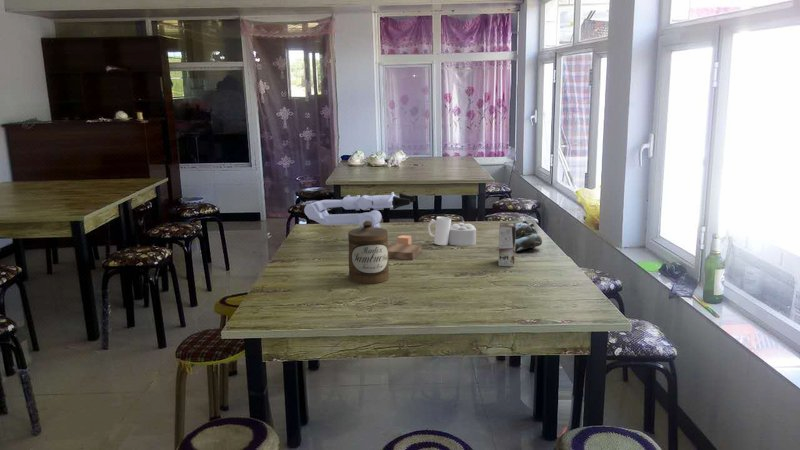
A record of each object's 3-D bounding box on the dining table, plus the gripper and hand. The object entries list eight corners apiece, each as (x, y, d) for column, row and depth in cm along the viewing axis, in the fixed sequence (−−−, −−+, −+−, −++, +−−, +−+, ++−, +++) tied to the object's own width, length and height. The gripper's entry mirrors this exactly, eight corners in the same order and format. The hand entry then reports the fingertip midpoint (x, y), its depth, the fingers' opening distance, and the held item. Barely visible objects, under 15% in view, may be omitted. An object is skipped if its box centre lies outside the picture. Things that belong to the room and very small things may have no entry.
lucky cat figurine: (509, 253, 276) (500, 222, 279) (510, 257, 287) (502, 228, 291) (543, 244, 273) (534, 213, 277) (543, 248, 285) (535, 219, 288)
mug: (448, 243, 295) (451, 217, 293) (448, 246, 289) (451, 220, 286) (426, 240, 296) (429, 214, 294) (425, 243, 290) (429, 217, 287)
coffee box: (514, 266, 255) (515, 227, 252) (498, 266, 256) (499, 226, 253) (515, 260, 264) (516, 222, 261) (499, 260, 265) (500, 221, 262)
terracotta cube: (397, 248, 286) (397, 237, 285) (401, 245, 291) (400, 235, 290) (408, 249, 285) (408, 238, 284) (411, 246, 289) (411, 235, 288)
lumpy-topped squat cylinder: (476, 245, 290) (477, 227, 288) (447, 245, 290) (448, 227, 287) (473, 239, 300) (473, 221, 298) (445, 239, 300) (446, 221, 297)
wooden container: (353, 285, 232) (352, 226, 227) (345, 274, 246) (344, 218, 241) (393, 282, 236) (392, 223, 231) (383, 271, 250) (382, 216, 245)
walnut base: (381, 257, 271) (380, 250, 270) (391, 249, 284) (391, 243, 283) (412, 260, 266) (412, 253, 266) (422, 252, 279) (422, 245, 279)
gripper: (376, 195, 278) (406, 193, 274) (387, 190, 292) (416, 188, 287) (378, 211, 279) (408, 210, 275) (389, 205, 293) (417, 204, 289)
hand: (412, 200), depth 281 cm, fingers open, 7 cm apart
